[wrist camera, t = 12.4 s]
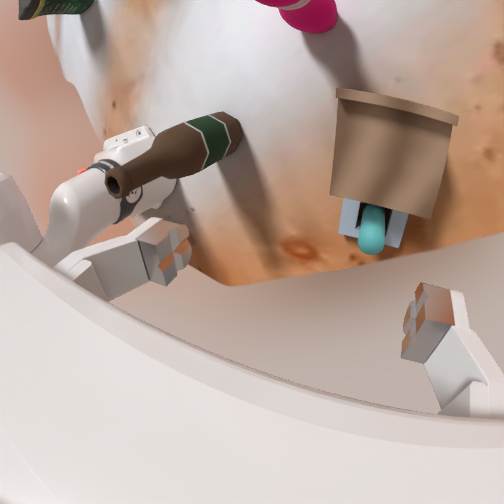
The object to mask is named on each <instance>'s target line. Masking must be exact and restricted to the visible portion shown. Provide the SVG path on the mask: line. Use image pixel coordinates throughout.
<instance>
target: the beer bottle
mask: <svg viewBox="0 0 504 504" xmlns="http://www.w3.org/2000/svg"><path fill="white" fill-rule="evenodd" d="M242 136H243V135H242V132H241V129H240V126H239V123H238V120H237V119H235V118H233V117H232V116H230V115H228V114H226V113H225V112H217V113H214V114H210V115H207V116H203V117H200V118H196V119H193V120H190V121H187V122H184V123H181V124H179V125H176V126H174V127H171V128H169V129H167V130H165V131H163V132H161V133H159V134H158V135H157V136H156V138H155V139H154V141H153V143H152V146H151V148H150V149H149V150H147V151H146V152H144V153H143V154H141V155H139V156H138V157H136V158H134V159H132V160H130V161H129V162H127V163H125V164H124V165H122V166H120V167H118V166H116V167H114V168H111V169H110V170H109V171H108V172H107V173H106V174H105V182H104V183H105V186H106V188H107V190H108V193H109V194H110V195H111V196H113V197H114V198H115V199H119V198H123V197H126V196H129V195H130V192H131V191H133V190H135V189H137V188H139V187H141V186H143V185H145V184H147V183H149V182H151V181H153V180H155V179H157V178H159V177H161V176H162V177H165V178H168V179H178V178H182V177H186V176H190V175H193V174H195V173H197V172H200V171H202V170H203V169H205V168H207V167H208V166H210V165H212V164H214V163H215V162H217V161H219V160H221V159H222V158H224V157H226V156H228V155H229V154H231V153H233V152H234V151H235V150H236V149H237V147H238V145H239V142H240V140H241V138H242Z"/></svg>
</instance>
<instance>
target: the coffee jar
mask: <svg viewBox="0 0 504 504" xmlns="http://www.w3.org/2000/svg"><path fill="white" fill-rule="evenodd" d="M92 1H93V0H19V20H29V19H33V18H35V17H37V16H42V15H51V14H81V13H83V12H84V11H85V10H86V9H87V8H88V7H89V6H90V4H91V2H92Z"/></svg>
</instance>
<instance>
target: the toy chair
mask: <svg viewBox="0 0 504 504" xmlns="http://www.w3.org/2000/svg"><path fill="white" fill-rule="evenodd" d="M336 98H338V111H337V125H336V138H335V149H334V159H333V169H332V178H331V187H330V195H332V196H337V197H342V198H346V199H351V200H355V201H360V202H364V203H369V204H373V205H377V206H381V207H385V208H389V209H393V210H397V211H401V212H405V213H408V214H412V215H416V216H419V217H423V218H427V219H430V220H431V217H432V214H433V210H434V207H435V203H436V200H437V196H438V192H439V189H440V185H441V181H442V176H443V172H444V168H445V163H446V159H447V154H448V149H449V143H450V138H451V132H452V125H455V126H457V125H458V118H459V116H457V115H455V114H452V113H449V112H446V111H443V110H440V109H437V108H434V107H430V106H427V105H423V104H419V103H416V102H412V101H408V100H404V99H400V98H395V97H391V96H386V95H381V94H376V93H371V92H365V91H359V90H353V89H346V88H336Z"/></svg>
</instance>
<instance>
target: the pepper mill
mask: <svg viewBox="0 0 504 504" xmlns="http://www.w3.org/2000/svg"><path fill="white" fill-rule="evenodd" d="M256 1H258V2H259V3H261V4H264V5H267V6H270V7H277V8H278V9H279V12H280V15H281V16H282V18H283V19H284V20H285V21H286V22H287V23H288V24H289V25H290V26H292V27H293V28H295V29H298V30H301V31H306V32H310V33H323V32H326V31H328V30H330V29H331V28H332V27H333V26H334V25H335V23H336V21H337V8H336V4H335V1H334V0H256Z"/></svg>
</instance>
